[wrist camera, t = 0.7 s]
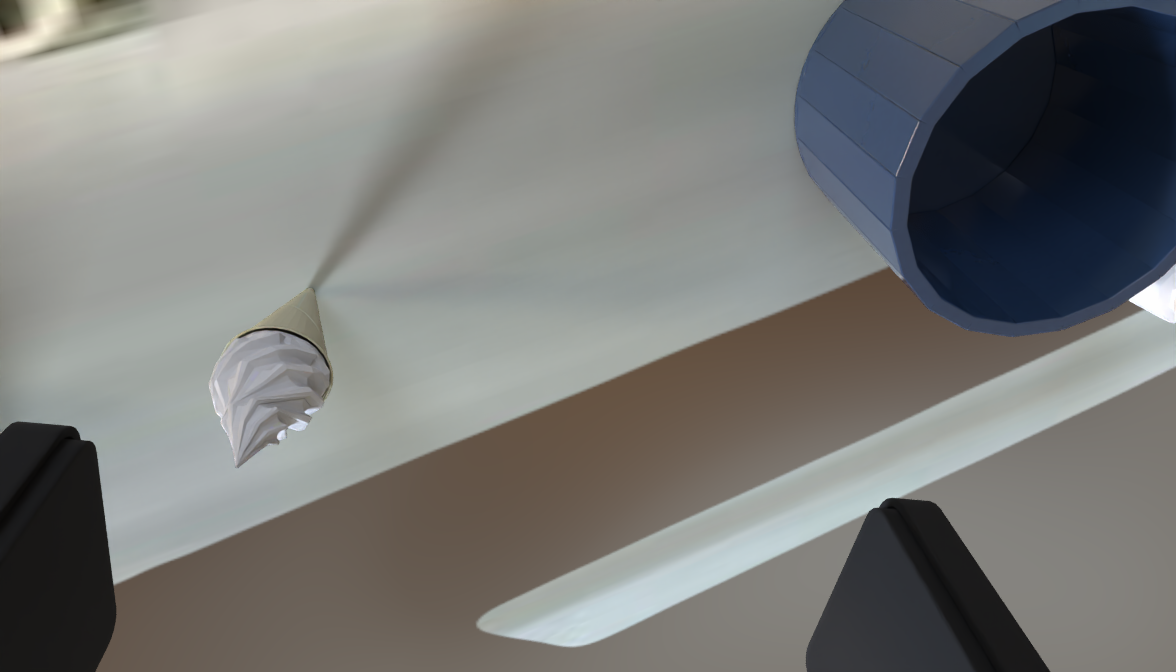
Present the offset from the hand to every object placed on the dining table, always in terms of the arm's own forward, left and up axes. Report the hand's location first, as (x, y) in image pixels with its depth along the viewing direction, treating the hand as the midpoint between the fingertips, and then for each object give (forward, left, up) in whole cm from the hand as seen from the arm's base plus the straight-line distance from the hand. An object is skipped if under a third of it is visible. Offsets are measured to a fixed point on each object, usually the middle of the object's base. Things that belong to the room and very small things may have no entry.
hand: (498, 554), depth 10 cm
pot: (-1, +22, -34) cm, 41 cm away
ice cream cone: (+16, -8, -34) cm, 38 cm away
